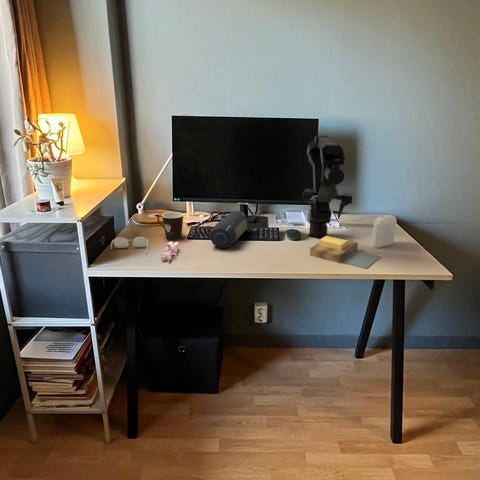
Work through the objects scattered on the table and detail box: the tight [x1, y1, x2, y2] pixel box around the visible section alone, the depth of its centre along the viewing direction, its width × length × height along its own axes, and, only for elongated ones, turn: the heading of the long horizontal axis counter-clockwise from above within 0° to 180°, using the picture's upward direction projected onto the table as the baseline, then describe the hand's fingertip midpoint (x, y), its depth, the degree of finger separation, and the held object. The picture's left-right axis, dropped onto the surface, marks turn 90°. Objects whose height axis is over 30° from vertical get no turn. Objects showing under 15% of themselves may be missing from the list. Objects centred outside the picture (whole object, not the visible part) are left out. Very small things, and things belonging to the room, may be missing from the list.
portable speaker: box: [209, 210, 249, 249], centre depth 189 cm, size 25×10×10 cm, turn 162°
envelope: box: [334, 213, 380, 228], centre depth 213 cm, size 24×2×14 cm
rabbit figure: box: [159, 241, 179, 264], centre depth 174 cm, size 6×6×15 cm
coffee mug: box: [157, 211, 184, 242], centre depth 192 cm, size 12×9×10 cm
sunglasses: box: [110, 236, 149, 251], centre depth 178 cm, size 14×8×5 cm, turn 95°
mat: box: [340, 249, 382, 270], centre depth 172 cm, size 10×14×1 cm
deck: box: [309, 240, 359, 264], centre depth 178 cm, size 12×16×3 cm
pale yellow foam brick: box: [318, 235, 349, 250], centre depth 177 cm, size 9×6×2 cm, turn 54°
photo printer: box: [371, 214, 398, 249], centre depth 184 cm, size 10×4×12 cm, turn 123°
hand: (326, 217), depth 179 cm, fingers open, 9 cm apart
